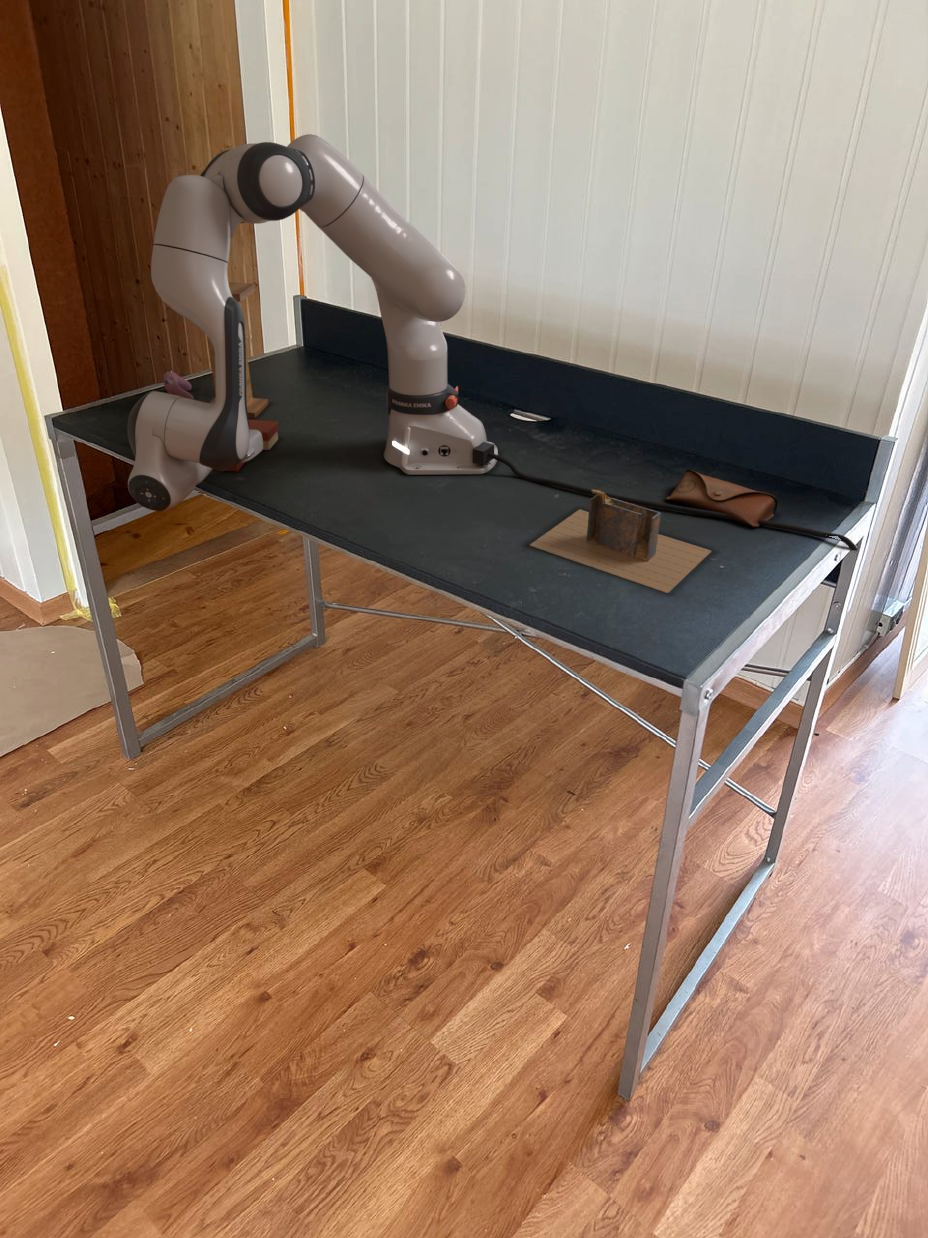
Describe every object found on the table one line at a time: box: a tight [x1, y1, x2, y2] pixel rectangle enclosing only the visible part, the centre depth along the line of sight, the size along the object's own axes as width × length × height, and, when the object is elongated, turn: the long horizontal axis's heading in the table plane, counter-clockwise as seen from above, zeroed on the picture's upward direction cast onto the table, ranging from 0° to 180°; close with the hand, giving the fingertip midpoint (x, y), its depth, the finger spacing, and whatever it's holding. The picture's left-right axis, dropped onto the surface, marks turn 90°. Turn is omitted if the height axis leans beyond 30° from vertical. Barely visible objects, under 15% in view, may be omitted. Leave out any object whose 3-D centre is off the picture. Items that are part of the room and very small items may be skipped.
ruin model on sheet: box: [529, 488, 712, 594], centre depth 148 cm, size 25×16×10 cm, turn 54°
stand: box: [206, 281, 269, 419], centre depth 195 cm, size 12×9×26 cm
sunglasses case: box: [665, 469, 779, 528], centre depth 163 cm, size 18×7×7 cm, turn 52°
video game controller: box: [162, 370, 195, 400], centre depth 206 cm, size 10×5×7 cm, turn 17°
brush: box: [224, 419, 279, 472], centre depth 181 cm, size 8×17×4 cm, turn 171°
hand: (220, 425), depth 169 cm, fingers open, 8 cm apart
